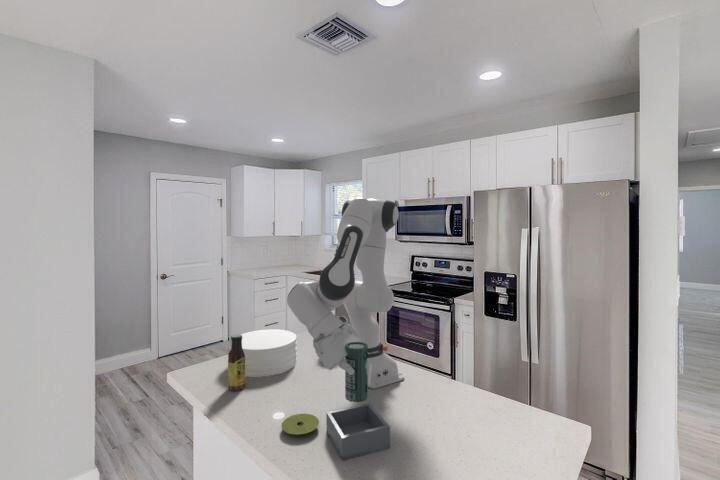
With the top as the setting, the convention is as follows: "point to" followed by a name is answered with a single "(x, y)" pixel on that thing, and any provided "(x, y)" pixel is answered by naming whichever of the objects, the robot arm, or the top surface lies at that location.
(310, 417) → the mat
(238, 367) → the sauce bottle
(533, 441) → the top surface
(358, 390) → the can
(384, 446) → the bin
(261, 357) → the plate stack
